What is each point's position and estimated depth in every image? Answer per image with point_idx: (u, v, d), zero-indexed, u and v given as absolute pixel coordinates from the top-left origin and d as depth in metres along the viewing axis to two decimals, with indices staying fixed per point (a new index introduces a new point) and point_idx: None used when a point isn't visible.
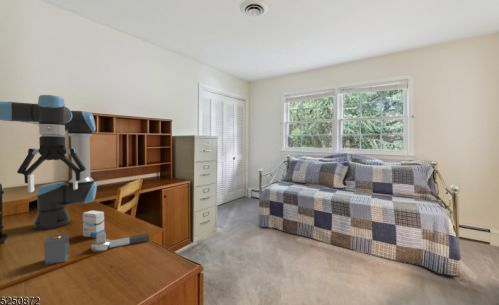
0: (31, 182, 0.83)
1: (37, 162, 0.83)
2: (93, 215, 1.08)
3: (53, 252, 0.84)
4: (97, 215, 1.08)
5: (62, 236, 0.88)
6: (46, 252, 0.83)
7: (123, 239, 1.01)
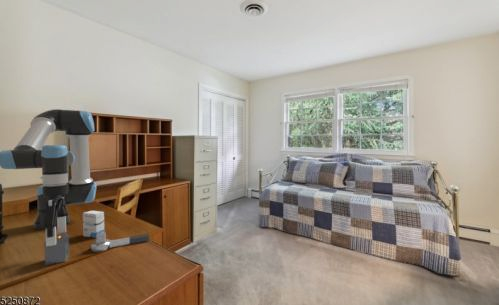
0: (59, 224, 0.92)
1: None
2: (93, 215, 1.08)
3: (53, 252, 0.84)
4: (97, 215, 1.08)
5: (62, 236, 0.88)
6: (46, 252, 0.83)
7: (123, 239, 1.01)
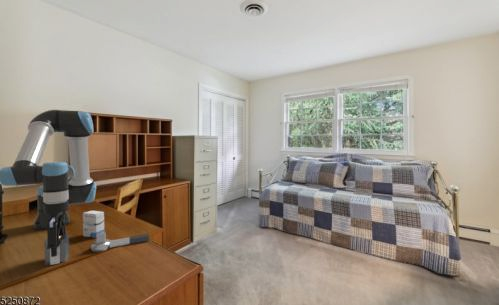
0: None
1: None
2: (93, 215, 1.08)
3: None
4: (97, 215, 1.08)
5: (62, 236, 0.88)
6: (46, 252, 0.83)
7: (123, 239, 1.01)
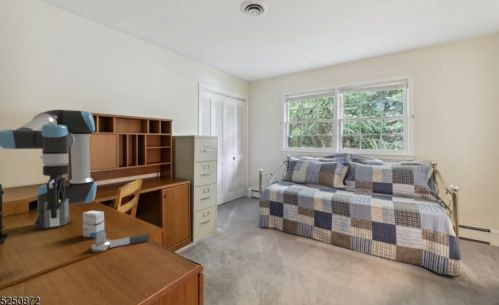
0: None
1: None
2: (93, 215, 1.08)
3: None
4: (97, 215, 1.08)
5: (62, 200, 0.88)
6: (46, 214, 0.83)
7: (123, 239, 1.01)
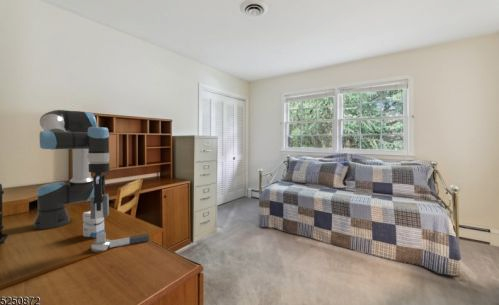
0: None
1: None
2: None
3: None
4: None
5: (104, 195, 0.97)
6: (91, 207, 0.93)
7: (123, 239, 1.01)
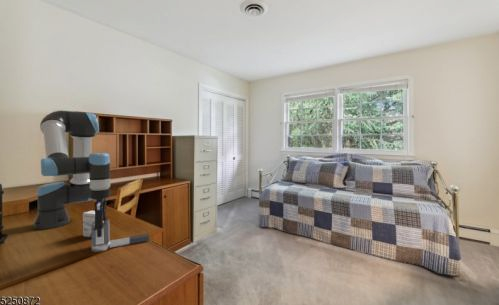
0: None
1: None
2: (93, 215, 1.08)
3: None
4: None
5: (105, 221, 0.98)
6: (93, 235, 0.93)
7: (123, 239, 1.01)
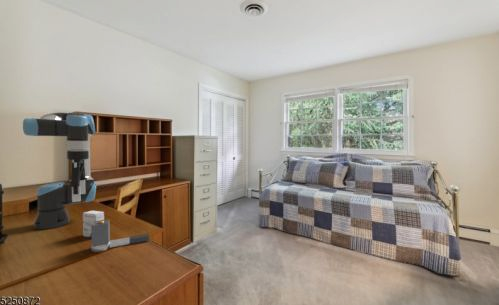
0: (79, 186, 1.04)
1: None
2: (93, 215, 1.08)
3: (98, 235, 0.94)
4: (97, 215, 1.08)
5: (105, 221, 0.98)
6: (93, 235, 0.93)
7: (123, 239, 1.01)
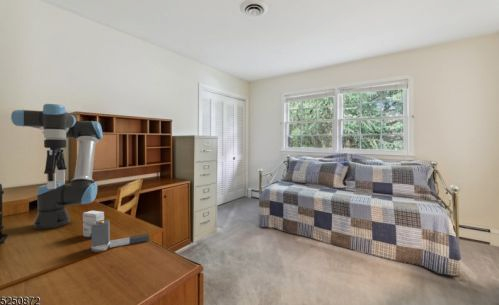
0: (58, 175, 1.06)
1: None
2: (93, 215, 1.08)
3: (98, 235, 0.94)
4: (97, 215, 1.08)
5: (105, 221, 0.98)
6: (93, 235, 0.93)
7: (123, 239, 1.01)
